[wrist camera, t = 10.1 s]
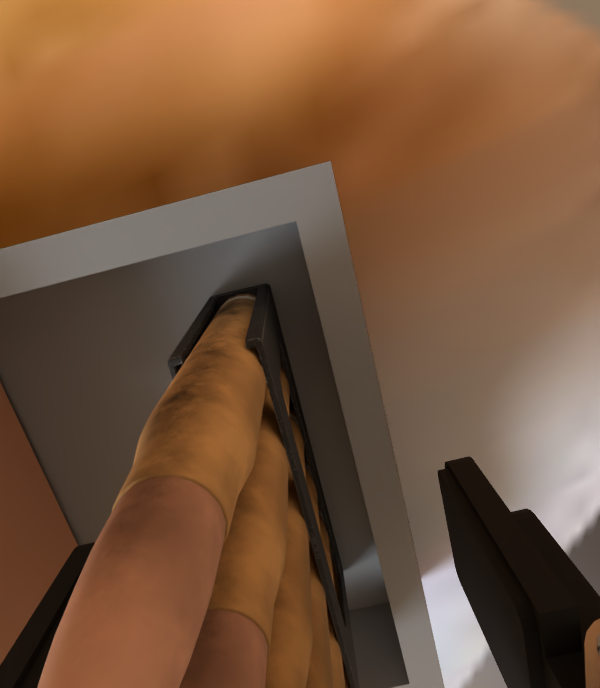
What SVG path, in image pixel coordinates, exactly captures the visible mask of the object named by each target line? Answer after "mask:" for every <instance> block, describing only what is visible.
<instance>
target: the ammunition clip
mask: <svg viewBox="0 0 600 688" xmlns="http://www.w3.org/2000/svg"><path fill="white" fill-rule="evenodd" d="M168 367H169V370H170V373H171V376H172V379H173V381H172V382H171V384H170V385H169V387H168V388H167V390H166V391H165V393H164V394H163V396H162V397H161V399H160V400H159V402H158V403H157V405H156V407H155V408H154V410H153V411H152V413H151V414H150V416H149V418H148V420H147V422H146V424H145V427H144V429H143V431H142V433H141V436H140V438H139V442H138V445H137V449H136V454H135V458H134V463H133V467H132V469H131V471H130V473H129V475H128V477H127V479H126V481H125V483H124V485H123V487H122V488H121V490H120V492H119V494H118V497H117V499H116V501H115V503H114V506H113V508H112V513H111V515H110V517H109V519H108V520H107V522H106V524H105V526H104V528H103V529H102V531H101V533H100V535H99V537H98V539H97V540H96V542H95V544H94V546H93V548H92V550H91V552H90V554H89V556H88V558H87V561H86V563H85V565H84V567H83V570H82V572H81V574H80V576H79V579H78V581H77V583H76V586H75V588H74V590H73V593H72V595H71V597H70V600H69V602H68V605H67V607H66V609H65V612H64V614H63V617H62V619H61V621H60V624H59V626H58V629H57V631H56V634H55V636H54V639H53V642H52V645H51V648H50V650H49V653H48V656H47V659H46V662H45V665H44V668H43V671H42V674H41V678H40V681H39V684H38V687H37V688H360V686H359V679H358V672H357V665H356V658H355V651H354V644H353V637H352V630H351V623H350V616H349V609H348V602H347V595H346V588H345V581H344V574H343V567H342V563H341V559H340V556H339V552H338V548H337V544H336V540H335V536H334V532H333V528H332V524H331V520H330V517H329V513H328V509H327V505H326V501H325V497H324V493H323V489H322V485H321V482H320V478H319V474H318V470H317V466H316V462H315V458H314V454H313V450H312V447H311V443H310V439H309V435H308V431H307V427H306V423H305V419H304V415H303V411H302V408H301V404H300V400H299V396H298V392H297V388H296V384H295V380H294V376H293V373H292V369H291V365H290V361H289V357H288V353H287V349H286V345H285V341H284V338H283V334H282V330H281V326H280V322H279V318H278V314H277V310H276V306H275V302H274V299H273V295H272V291H271V287H270V285H269V284H267V283H265V284H260V285H256V286H252V287H248V288H244V289H240V290H235V291H231V292H227V293H223V294H219V295H215V296H210V298H209V299H208V301H207V302H206V304H205V305H204V307H203V308H202V310H201V311H200V313H199V314H198V316H197V317H196V319H195V320H194V322H193V323H192V325H191V326H190V327H189V329H188V330H187V332H186V333H185V335H184V336H183V338H182V339H181V341H180V342H179V344H178V345H177V347H176V348H175V350H174V351H173V353H172V354H171V356H170V357H169V359H168Z"/></svg>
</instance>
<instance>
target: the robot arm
mask: <svg viewBox="0 0 600 688" xmlns="http://www.w3.org/2000/svg"><path fill="white" fill-rule="evenodd" d="M438 478H439V483H440V489H441V494H442V499H443V505H444V510H445V515H446V521H447V526H448V531H449V537H450V542H451V547H452V553H453V558H454V563H455V568H456V571H457V575H458V578H459V580H460V583H461V585H462V587H463V590H464V592H465V594H466V596H467V598H468V601H469V603H470V605H471V607H472V610H473V612H474V614H475V616H476V618H477V621H478V623H479V625H480V627H481V630H482V632H483V634H484V636H485V638H486V641H487V643H488V645H489V647H490V650H491V652H492V654H493V656H494V658H495V661H496V663H497V665H498V667H499V670H500V672H501V674H502V676H503V678H504V681H505V683H506V685H507V687H508V688H600V596H599V595H598V594H597V593H596V591H595V590H594V589H593V587H592V586H591V585H590V584H589V582H588V581H587V580H586V579H585V578H584V576H583V575H582V574H581V572H580V571H579V570H578V569H577V567H576V566H575V565H574V564H573V563H572V561H571V560H570V558H569V557H568V556H567V555H566V553H565V552H564V551H563V549H562V548H561V547H560V546H559V544H558V543H557V542H556V541H555V539H554V538H553V537H552V536H551V534H550V533H549V532H548V530H547V529H546V528H545V527H544V525H543V524H542V523H541V522H540V520H539V519H538V518H537V517H536V515H535V514H534V513H533V512H532V511H531V510H529V509H523V510H518V511H514V512H510V510H509V509H508V508H507V506H506V505H505V503H504V502H503V501H502V499H501V498H500V496H499V495H498V494H497V492H496V491H495V490H494V488H493V487H492V485H491V484H490V483H489V481H488V480H487V478H486V477H485V476H484V474H483V473H482V471H481V470H480V469H479V467H478V466H477V464H476V463H475V462H474V460H473V459H472V458H471V457H465V458H460V459H456V460H452V461H447V462H445V469H442V470H438ZM94 544H95V542H92V543H88V544H83V545H79V546H77V547H75V549H74V550H73V551H72V553H71V554H70V556H69V557H68V559H67V561H66V562H65V564H64V565H63V567H62V568H61V570H60V572H59V573H58V575H57V576H56V578H55V580H54V581H53V583H52V584H51V586H50V587H49V589H48V591H47V592H46V594H45V595H44V597H43V599H42V600H41V602H40V603H39V605H38V606H37V608H36V610H35V611H34V613H33V614H32V616H31V617H30V619H29V621H28V622H27V624H26V625H25V627H24V629H23V630H22V632H21V633H20V635H19V636H18V638H17V640H16V641H15V643H14V644H13V646H12V648H11V649H10V651H9V652H8V654H7V655H6V657H5V659H4V660H3V662H2V663H1V665H0V688H37V687H38V684H39V681H40V678H41V674H42V671H43V668H44V665H45V662H46V659H47V656H48V653H49V650H50V648H51V645H52V642H53V639H54V636H55V634H56V631H57V629H58V626H59V624H60V621H61V619H62V617H63V614H64V612H65V609H66V607H67V605H68V602H69V600H70V597H71V595H72V593H73V590H74V588H75V586H76V583H77V581H78V579H79V576H80V574H81V572H82V570H83V567H84V565H85V563H86V561H87V558H88V556H89V554H90V552H91V550H92V548H93V546H94Z"/></svg>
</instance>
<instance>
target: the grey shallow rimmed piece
mask: <svg viewBox="0 0 600 688" xmlns="http://www.w3.org/2000/svg"><path fill="white" fill-rule="evenodd" d="M265 283H267V284H269V285H270V287H271V291H272V295H273V299H274V302H275V306H276V310H277V314H278V318H279V322H280V326H281V330H282V334H283V338H284V341H285V345H286V349H287V353H288V357H289V361H290V365H291V369H292V373H293V376H294V380H295V384H296V388H297V392H298V396H299V400H300V404H301V408H302V411H303V415H304V419H305V423H306V427H307V431H308V435H309V439H310V443H311V447H312V450H313V454H314V458H315V462H316V466H317V470H318V474H319V478H320V482H321V485H322V489H323V493H324V497H325V501H326V505H327V509H328V513H329V517H330V520H331V524H332V528H333V532H334V536H335V540H336V544H337V548H338V552H339V556H340V559H341V563H342V567H343V574H344V581H345V588H346V595H347V602H348V609H349V616H350V623H351V630H352V637H353V644H354V651H355V658H356V665H357V672H358V679H359V686H360V688H444V683H443V679H442V674H441V670H440V665H439V660H438V656H437V651H436V646H435V642H434V637H433V633H432V628H431V623H430V619H429V614H428V609H427V605H426V600H425V595H424V591H423V586H422V582H421V577H420V572H419V568H418V563H417V558H416V554H415V549H414V545H413V540H412V535H411V531H410V526H409V521H408V517H407V512H406V507H405V503H404V498H403V494H402V489H401V484H400V480H399V475H398V470H397V466H396V461H395V456H394V452H393V447H392V443H391V438H390V433H389V429H388V424H387V419H386V415H385V410H384V406H383V401H382V396H381V392H380V387H379V382H378V378H377V373H376V368H375V364H374V359H373V355H372V350H371V345H370V341H369V336H368V331H367V327H366V322H365V318H364V313H363V308H362V304H361V299H360V294H359V290H358V285H357V280H356V276H355V271H354V267H353V262H352V257H351V253H350V248H349V243H348V239H347V234H346V230H345V225H344V220H343V216H342V211H341V206H340V202H339V197H338V192H337V188H336V183H335V179H334V174H333V169H332V165H331V161H328V162H324V163H320V164H317V165H313V166H309V167H305V168H302V169H298V170H294V171H290V172H287V173H283V174H279V175H276V176H272V177H268V178H264V179H261V180H257V181H253V182H249V183H246V184H242V185H238V186H234V187H231V188H227V189H223V190H219V191H216V192H212V193H208V194H204V195H201V196H197V197H193V198H189V199H186V200H182V201H178V202H174V203H171V204H167V205H163V206H159V207H156V208H152V209H148V210H144V211H141V212H137V213H133V214H129V215H126V216H122V217H118V218H114V219H111V220H107V221H103V222H99V223H96V224H92V225H88V226H85V227H81V228H77V229H73V230H70V231H66V232H62V233H58V234H55V235H51V236H47V237H43V238H40V239H36V240H32V241H28V242H25V243H21V244H17V245H13V246H10V247H6V248H2V249H0V383H1V385H2V387H3V389H4V391H5V393H6V395H7V397H8V399H9V402H10V404H11V406H12V408H13V410H14V412H15V414H16V416H17V418H18V420H19V423H20V425H21V427H22V429H23V431H24V433H25V435H26V437H27V439H28V441H29V444H30V446H31V448H32V450H33V452H34V454H35V456H36V458H37V460H38V462H39V465H40V467H41V469H42V471H43V473H44V475H45V477H46V479H47V481H48V483H49V486H50V488H51V490H52V492H53V494H54V496H55V498H56V500H57V502H58V505H59V507H60V509H61V511H62V513H63V515H64V517H65V519H66V521H67V523H68V526H69V528H70V530H71V532H72V534H73V536H74V538H75V540H76V542H77V544H78V546H79V545H83V544H88V543H92V542H96V540H97V539H98V537H99V535H100V533H101V531H102V529H103V528H104V526H105V524H106V522H107V520H108V519H109V517H110V515H111V513H112V508H113V506H114V503H115V501H116V499H117V497H118V494H119V492H120V490H121V488H122V487H123V485H124V483H125V481H126V479H127V477H128V475H129V473H130V471H131V469H132V467H133V463H134V458H135V454H136V449H137V445H138V442H139V438H140V436H141V433H142V431H143V429H144V427H145V424H146V422H147V420H148V418H149V416H150V414H151V413H152V411H153V410H154V408H155V407H156V405H157V403H158V402H159V400H160V399H161V397H162V396H163V394H164V393H165V391H166V390H167V388H168V387H169V385H170V384H171V382H172V381H173V379H172V376H171V373H170V370H169V367H168V359H169V357H170V356H171V354H172V353H173V351H174V350H175V348H176V347H177V345H178V344H179V342H180V341H181V339H182V338H183V336H184V335H185V333H186V332H187V330H188V329H189V327H190V326H191V325H192V323H193V322H194V320H195V319H196V317H197V316H198V314H199V313H200V311H201V310H202V308H203V307H204V305H205V304H206V302H207V301H208V299H209V298H210V296H215V295H219V294H223V293H227V292H231V291H235V290H240V289H244V288H248V287H252V286H256V285H260V284H265Z"/></svg>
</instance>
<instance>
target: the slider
mask: <svg viewBox="0 0 600 688" xmlns="http://www.w3.org/2000/svg"><path fill="white" fill-rule="evenodd" d="M77 546H78V544H77V542H76V540H75V538H74V536H73V534H72V532H71V530H70V528H69V526H68V523H67V521H66V519H65V517H64V515H63V513H62V511H61V509H60V507H59V505H58V502H57V500H56V498H55V496H54V494H53V492H52V490H51V488H50V486H49V483H48V481H47V479H46V477H45V475H44V473H43V471H42V469H41V467H40V465H39V462H38V460H37V458H36V456H35V454H34V452H33V450H32V448H31V446H30V444H29V441H28V439H27V437H26V435H25V433H24V431H23V429H22V427H21V425H20V423H19V420H18V418H17V416H16V414H15V412H14V410H13V408H12V406H11V404H10V402H9V399H8V397H7V395H6V393H5V391H4V389H3V387H2V385H1V383H0V665H1V663H2V662H3V660H4V659H5V657H6V655H7V654H8V652H9V651H10V649H11V648H12V646H13V644H14V643H15V641H16V640H17V638H18V636H19V635H20V633H21V632H22V630H23V629H24V627H25V625H26V624H27V622H28V621H29V619H30V617H31V616H32V614H33V613H34V611H35V610H36V608H37V606H38V605H39V603H40V602H41V600H42V599H43V597H44V595H45V594H46V592H47V591H48V589H49V587H50V586H51V584H52V583H53V581H54V580H55V578H56V576H57V575H58V573H59V572H60V570H61V568H62V567H63V565H64V564H65V562H66V561H67V559H68V557H69V556H70V554H71V553H72V551H73V550H74V549H75V547H77Z"/></svg>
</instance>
